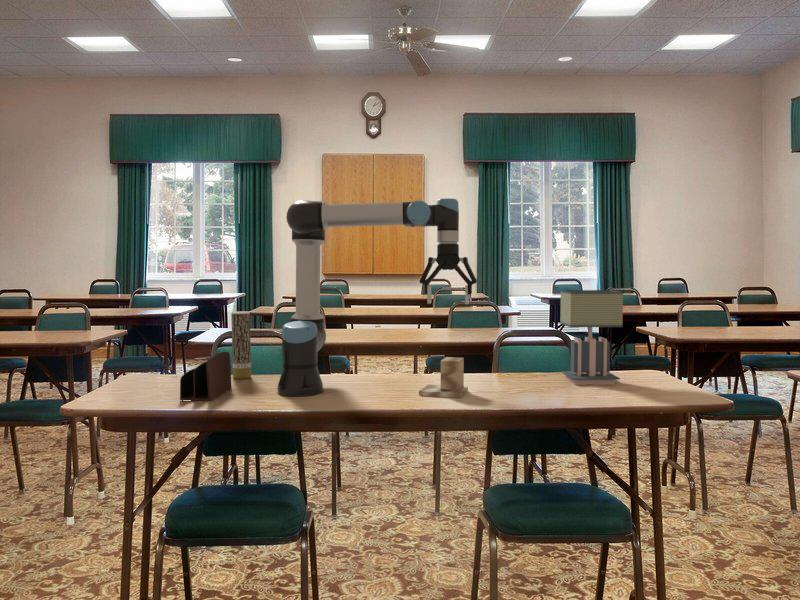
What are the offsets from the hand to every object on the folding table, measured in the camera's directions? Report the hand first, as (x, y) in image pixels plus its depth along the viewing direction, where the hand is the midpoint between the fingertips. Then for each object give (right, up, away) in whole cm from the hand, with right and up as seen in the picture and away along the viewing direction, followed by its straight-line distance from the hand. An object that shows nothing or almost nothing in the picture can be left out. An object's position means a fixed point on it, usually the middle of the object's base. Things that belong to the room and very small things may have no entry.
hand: (448, 303), depth 219 cm
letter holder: (-81, -31, -13) cm, 88 cm away
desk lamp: (+52, -28, +5) cm, 59 cm away
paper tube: (-77, -28, +17) cm, 84 cm away
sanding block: (0, -28, -14) cm, 31 cm away
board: (-2, -30, -13) cm, 32 cm away
